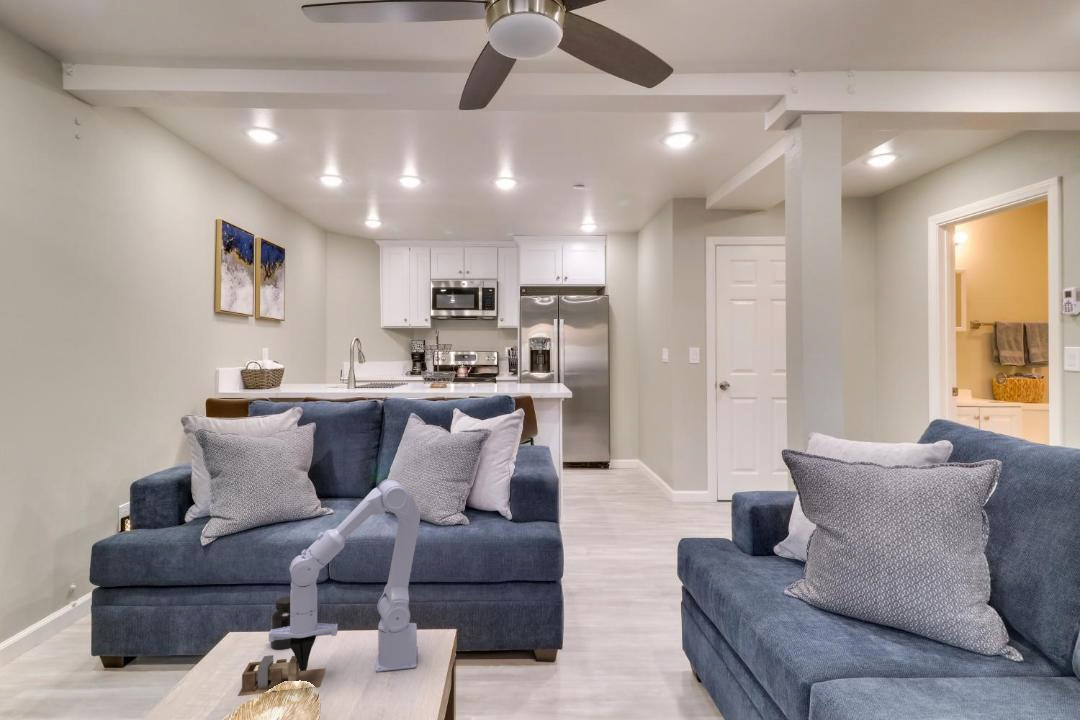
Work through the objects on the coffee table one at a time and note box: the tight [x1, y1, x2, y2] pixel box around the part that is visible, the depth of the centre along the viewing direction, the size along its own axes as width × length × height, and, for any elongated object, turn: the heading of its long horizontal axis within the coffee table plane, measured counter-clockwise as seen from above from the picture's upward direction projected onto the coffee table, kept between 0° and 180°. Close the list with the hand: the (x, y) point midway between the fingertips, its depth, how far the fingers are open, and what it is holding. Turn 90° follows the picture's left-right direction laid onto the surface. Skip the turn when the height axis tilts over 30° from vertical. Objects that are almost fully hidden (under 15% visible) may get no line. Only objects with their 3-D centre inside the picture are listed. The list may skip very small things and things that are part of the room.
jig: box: [237, 658, 327, 697], centre depth 128 cm, size 17×8×5 cm, turn 102°
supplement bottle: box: [270, 596, 291, 651], centre depth 146 cm, size 7×7×12 cm
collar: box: [258, 654, 275, 690], centre depth 128 cm, size 2×5×5 cm, turn 12°
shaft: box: [254, 655, 300, 681], centre depth 128 cm, size 9×4×4 cm, turn 102°
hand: (303, 668), depth 129 cm, fingers closed
